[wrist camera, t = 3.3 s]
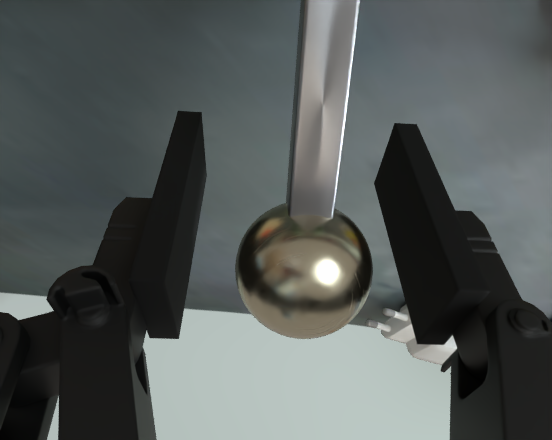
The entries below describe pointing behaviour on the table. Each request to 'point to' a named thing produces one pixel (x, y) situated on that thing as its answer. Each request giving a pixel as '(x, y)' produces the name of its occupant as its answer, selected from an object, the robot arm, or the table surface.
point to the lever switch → (311, 196)
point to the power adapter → (411, 337)
